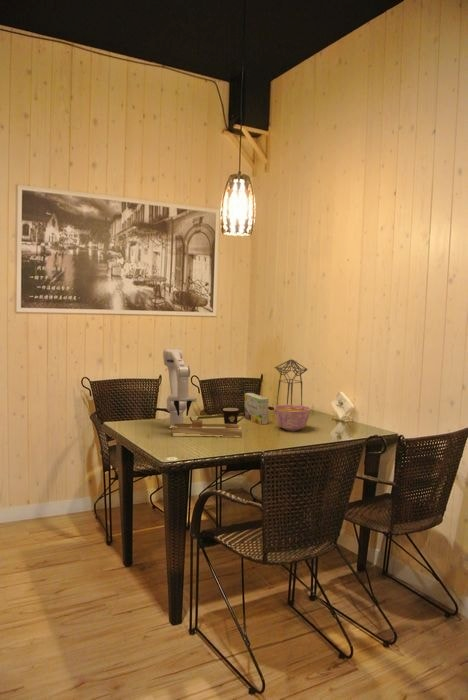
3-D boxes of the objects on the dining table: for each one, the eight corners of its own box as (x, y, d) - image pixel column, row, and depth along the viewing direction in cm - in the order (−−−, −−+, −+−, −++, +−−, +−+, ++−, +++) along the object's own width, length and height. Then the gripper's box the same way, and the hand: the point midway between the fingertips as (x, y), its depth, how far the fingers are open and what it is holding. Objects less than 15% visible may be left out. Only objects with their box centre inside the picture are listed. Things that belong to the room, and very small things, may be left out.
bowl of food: (267, 430, 299) (267, 409, 298) (281, 423, 316) (282, 403, 315) (302, 435, 289) (302, 413, 288) (315, 427, 307) (315, 407, 306)
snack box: (243, 418, 331) (244, 393, 330) (252, 417, 334) (252, 392, 333) (260, 425, 312) (260, 398, 311) (268, 424, 315) (269, 398, 313)
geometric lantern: (288, 412, 348) (291, 357, 345) (307, 417, 336) (309, 360, 333) (270, 415, 338) (272, 358, 335) (288, 420, 326) (291, 361, 323)
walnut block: (192, 427, 291) (192, 419, 291) (202, 427, 291) (202, 420, 291) (191, 429, 286) (192, 422, 286) (201, 429, 286) (201, 422, 286)
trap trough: (174, 431, 294) (174, 423, 294) (241, 432, 294) (241, 424, 293) (171, 436, 283) (171, 427, 283) (241, 437, 283) (241, 428, 282)
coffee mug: (221, 428, 303) (221, 410, 302) (225, 425, 311) (225, 407, 310) (241, 429, 300) (242, 411, 299) (245, 426, 308) (245, 408, 307)
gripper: (167, 390, 283) (167, 416, 284) (196, 390, 283) (196, 417, 284) (169, 388, 290) (169, 413, 291) (197, 388, 290) (197, 414, 291)
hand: (182, 415), depth 288 cm, fingers open, 4 cm apart
